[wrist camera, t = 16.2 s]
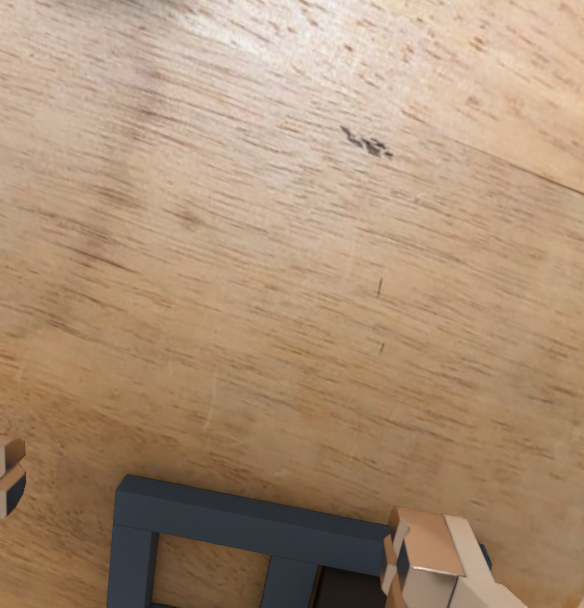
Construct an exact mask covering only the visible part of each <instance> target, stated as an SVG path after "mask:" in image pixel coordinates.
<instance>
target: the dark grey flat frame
mask: <svg viewBox="0 0 584 608" xmlns="http://www.w3.org/2000/svg"><path fill="white" fill-rule="evenodd" d="M159 533H164V534H169V535H173V536H178V537H183V538H188V539H193V540H198V541H203V542H208V543H213V544H218V545H223V546H228V547H233V548H238V549H243V550H248V551H253V552H258V553H263V554H268V555H271V556H270V561H269V566H268V571H267V576H266V581H265V586H264V591H263V596H262V601H261V606H260V608H308V606H309V602H310V598H311V594H312V589H313V585H314V581H315V577H316V573H317V568H318V565H323V566H328V567H333V568H338V569H343V570H348V571H353V572H358V573H363V574H368V575H373V576H378V577H380V569H379V565H380V555H381V549H382V544H383V540H384V538H385V537H387V536H388V535H389V534H390V529H389V526H386V525H381V524H376V523H371V522H366V521H361V520H356V519H351V518H346V517H341V516H336V515H330V514H325V513H320V512H315V511H310V510H305V509H300V508H295V507H290V506H285V505H280V504H275V503H270V502H265V501H260V500H255V499H249V498H244V497H239V496H234V495H229V494H224V493H219V492H214V491H209V490H204V489H199V488H194V487H189V486H184V485H179V484H174V483H168V482H163V481H158V480H153V479H148V478H143V477H138V476H133V475H128V474H127V475H126V476H125V477H124V479H123V480H122V482H121V483H120V485H119V486H118V487H117V489H116V492H115V505H114V518H113V529H112V542H111V555H110V568H109V582H108V595H107V608H174V607H169V606H164V605H160V604H155V603H151V598H152V589H153V580H154V571H155V562H156V553H157V544H158V535H159ZM479 546H480V549H481V551H482V553H483V556H484V558H485V560H486V562H487V565H488V567H489V569H490V571H491V568H492V563H491V560H490V558H489V556H488V554H487V551H486V549H485V547H484V545H482V544H479Z"/></svg>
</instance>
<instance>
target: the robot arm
mask: <svg viewBox="0 0 584 608" xmlns="http://www.w3.org/2000/svg"><path fill="white" fill-rule="evenodd" d="M25 455H26V452H25V441H23V440H22V439H21V438H20V437H15V436H10V435H6V434H1V433H0V520H2V519H4V518H6V517H7V516H8V515H9V514H10V513H11V512H12V511H13V510H14V509H15V507H16V506H17V504H18V502H19V500H20V498H21V497H22V495H23V492H24V488H25V484H26V472H25V470H24V469H23V467H22V466H21V464H20V463H19V462H20V461H21V460H22V458H23V457H24V456H25ZM388 524H389V529H390V534H389V535H388V536H387V537H385V538H384V540H383V544H382V549H381V555H380V565H379V569H380V583H381V589H382V590H383V592H384V593H385V594H386V596H387V600H386V604H385V608H528V607H527V606H526V605H525V604H524V603H523V602H521V601H520V600H519V599H518V598H517V597H516V596H515V595H514V594H513V593H512V592H511V591H510V590H508V589H507V588H506V587H505V586H504V585H502V584H497V583H495V581H494V578H493V576H492V574H491V571H490V569H489V567H488V565H487V562H486V560H485V558H484V556H483V553H482V551H481V549H480V546H479V544H478V542H477V540H476V537H475V535H474V533H473V530H472V528H471V526H470V524H469V521H468V520H467V519H466V518H465V517H460V516H453V515H447V514H436V513H430V512H424V511H419V510H413V509H407V508H402V507H396V506H393V508H392V510H391V513H390V516H389V520H388Z"/></svg>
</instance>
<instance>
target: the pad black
mask: <svg viewBox="0 0 584 608" xmlns="http://www.w3.org/2000/svg"><path fill="white" fill-rule="evenodd" d="M386 600H387V596H386V594H385V593H384V592H383V590H382V589H381V583H380V577H378V576H373V575H368V574H363V573H358V572H353V571H348V570H343V569H338V568H333V567H328V566H323V568H322V572H321V576H320V580H319V584H318V589H317V593H316V597H315V601H314V605H313V608H385V604H386Z"/></svg>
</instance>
